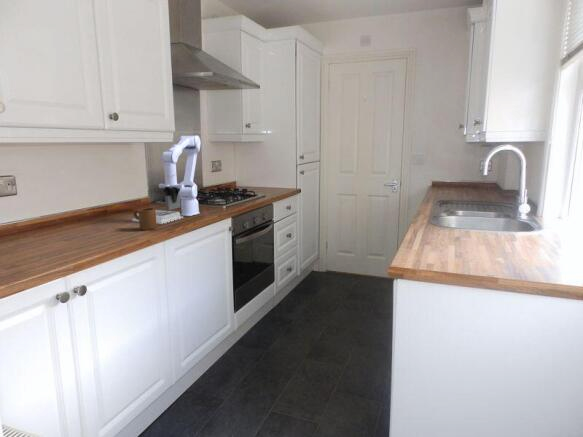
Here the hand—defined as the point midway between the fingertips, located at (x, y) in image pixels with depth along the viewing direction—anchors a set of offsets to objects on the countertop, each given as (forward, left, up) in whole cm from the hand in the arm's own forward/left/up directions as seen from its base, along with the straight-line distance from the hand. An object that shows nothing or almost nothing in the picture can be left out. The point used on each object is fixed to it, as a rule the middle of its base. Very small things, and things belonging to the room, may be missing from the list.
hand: (172, 202), depth 211 cm
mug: (+21, +1, -10) cm, 23 cm away
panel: (0, 0, -3) cm, 3 cm away
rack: (+1, -9, -10) cm, 14 cm away
